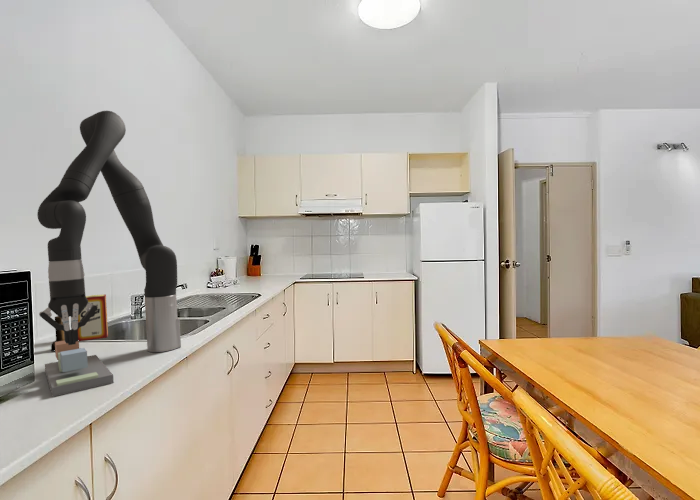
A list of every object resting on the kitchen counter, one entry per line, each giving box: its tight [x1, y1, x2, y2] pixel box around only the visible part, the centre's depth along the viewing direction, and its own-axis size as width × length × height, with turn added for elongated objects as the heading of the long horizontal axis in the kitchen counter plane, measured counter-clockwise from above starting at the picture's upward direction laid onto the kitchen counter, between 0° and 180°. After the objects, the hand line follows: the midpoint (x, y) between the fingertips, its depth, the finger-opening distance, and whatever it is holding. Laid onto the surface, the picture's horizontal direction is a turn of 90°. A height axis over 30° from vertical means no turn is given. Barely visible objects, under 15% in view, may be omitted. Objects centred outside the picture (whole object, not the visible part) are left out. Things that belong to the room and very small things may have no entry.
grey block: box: [60, 347, 88, 372], centre depth 99 cm, size 5×5×4 cm
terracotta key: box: [54, 340, 80, 360], centre depth 111 cm, size 5×5×4 cm
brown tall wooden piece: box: [50, 315, 70, 351], centre depth 135 cm, size 7×6×18 cm
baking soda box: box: [78, 294, 109, 342], centre depth 151 cm, size 10×6×16 cm
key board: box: [44, 354, 114, 398], centre depth 104 cm, size 12×26×3 cm, turn 40°
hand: (71, 344), depth 105 cm, fingers closed
